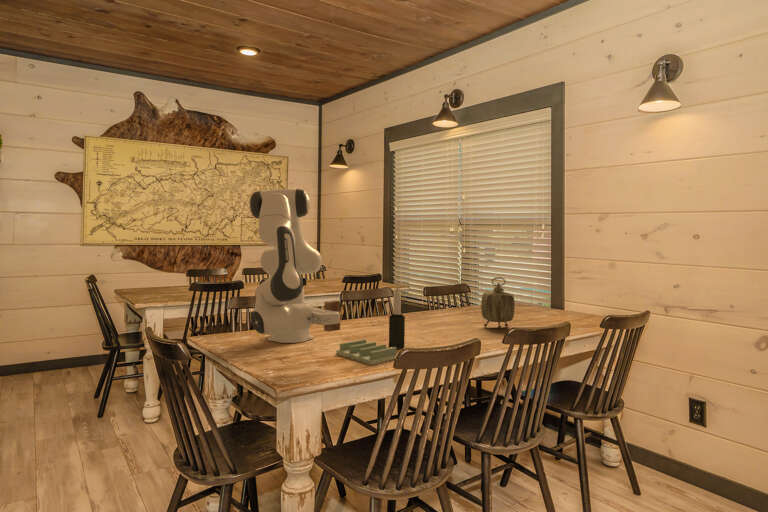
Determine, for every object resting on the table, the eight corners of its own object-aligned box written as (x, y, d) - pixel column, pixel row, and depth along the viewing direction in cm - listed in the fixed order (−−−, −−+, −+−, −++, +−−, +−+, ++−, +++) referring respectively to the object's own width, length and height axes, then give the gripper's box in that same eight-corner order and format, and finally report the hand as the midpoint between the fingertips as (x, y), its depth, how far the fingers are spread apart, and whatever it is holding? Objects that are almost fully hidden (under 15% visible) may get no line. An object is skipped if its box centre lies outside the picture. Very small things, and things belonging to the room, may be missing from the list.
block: (328, 331, 165) (328, 302, 165) (324, 330, 167) (324, 301, 167) (340, 329, 169) (340, 301, 168) (335, 328, 171) (336, 300, 170)
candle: (396, 345, 198) (397, 284, 197) (405, 347, 194) (406, 285, 193) (387, 347, 194) (388, 285, 193) (396, 349, 191) (397, 286, 190)
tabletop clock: (508, 326, 243) (509, 276, 242) (515, 329, 234) (516, 278, 233) (480, 326, 241) (481, 276, 240) (486, 330, 232) (487, 278, 231)
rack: (371, 365, 167) (371, 353, 167) (336, 354, 182) (336, 343, 182) (400, 358, 177) (400, 347, 177) (364, 348, 192) (364, 338, 191)
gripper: (318, 311, 151) (353, 307, 161) (284, 303, 166) (317, 300, 176) (318, 331, 151) (353, 326, 161) (284, 321, 167) (317, 317, 176)
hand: (334, 312), depth 168 cm, fingers closed on block, 2 cm apart
